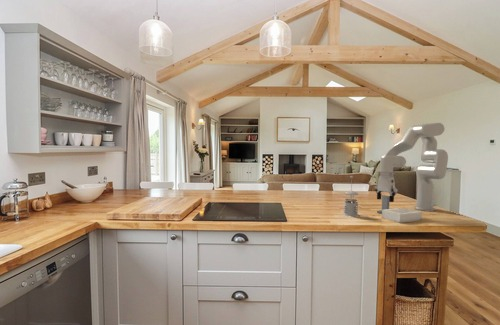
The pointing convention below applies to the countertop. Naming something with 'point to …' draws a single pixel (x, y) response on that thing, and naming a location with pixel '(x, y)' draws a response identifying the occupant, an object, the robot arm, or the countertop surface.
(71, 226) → the countertop surface
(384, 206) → the steel bracket
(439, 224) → the countertop surface
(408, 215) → the grey shallow tray
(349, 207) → the french press
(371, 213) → the countertop surface
